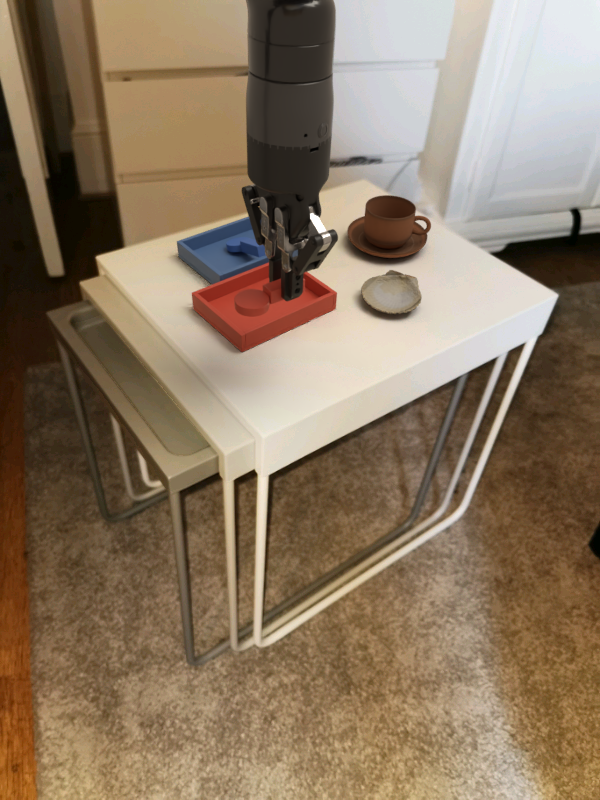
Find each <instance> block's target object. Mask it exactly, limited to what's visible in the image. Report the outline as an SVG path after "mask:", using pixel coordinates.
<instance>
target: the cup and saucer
mask: <svg viewBox="0 0 600 800" xmlns="http://www.w3.org/2000/svg"><path fill="white" fill-rule="evenodd" d="M416 213H417V207H416V205H415V204H414V203H413V202H412V201H411V200H409V199H407V198H405V197H402V196H399V195H391V194H388V195H387V194H383V195H377V196H374V197H371V198H369V199H368V200H367V201H366V203H365V209H364V215H363V216H360V217H358V218H355V219H354V220H352V221H351V222H350V224H349V225H348V227H347V230H346V231H347V237H348V239H349V242H351V244H353V245H354V247H355V248H357V249H358V250H360V251H361V252H363V253H365V254H368V255H369V256H374V257H380V258H385V259H386V258H388V259H392V258H393V259H396V258H397V259H399V258H404V257H408V256H411V255H414V254H415V253H417V252H419V251H420V250H422V249H423V248H424V247H425V245H426V244H427V241H428V233H429V232H430V231H431V228H432V222H431V220H430V219H429V218H428V217H426V216H424V215H416ZM418 221H421V222H424V223H425V224H426V227H425V228H424V227H423V226H422V225H421V224H420V223H418Z"/></svg>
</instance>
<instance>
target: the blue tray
mask: <svg viewBox="0 0 600 800" xmlns="http://www.w3.org/2000/svg"><path fill="white" fill-rule="evenodd" d="M260 223H261V220H260ZM239 237H248V238H251V239H254V240H255V236H254V233H253V229H252V226H251V223H250V219H249V216H248V215H247V216H245V217H243V218H240V219H236V220H234V221H231V222H228V223H225V224H222V225H220V226H216V227H214V228H211V229H208V230H205V231H203V232H199V233H196V234H194V235H190V236H187V237H185V238H182V239H179V240H176V248H177V257H178V258H179V259H180V260H182V261H183V262H184V263H185V264H186V265H188V266H189V267H190V268H191V269H192V270H194V271H195V272H196V273H197V274H199V276H201V277H202V278H203V279H204V280H205V281H207V282H208V283H210V285H212V284H215V283H218V282H220V281H223V280H225V279H228V278H230V277H233V276H235V275H238V274H240V273H243V272H246V271H248V270H251V269H253V268H256V267H258V266H261V265H263V264H266V263H268V262H269V259H268V258H267V256H266V255H264V256H262V257H256V256H253V255H250V254H247V253H244V252H242V251H241V252H229V251H228V250H227V245H226V242H227V241H229V240H231V239H234V238H239ZM295 256H298V250H296V251H294V252H293V257H295Z"/></svg>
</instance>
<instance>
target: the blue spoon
mask: <svg viewBox="0 0 600 800" xmlns="http://www.w3.org/2000/svg"><path fill="white" fill-rule="evenodd" d="M226 245H227V250H228V251H229V252H241V251H242V252H244V253H247V254H250V255H253V256H256V257H262V256H264V255H266V254H265V247H264V245H260V246H259V245H258V244H257V242H256V240H254V239H251V238H248V237H239V238H234V239H231V240H229V241H227V242H226Z"/></svg>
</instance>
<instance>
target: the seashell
mask: <svg viewBox="0 0 600 800" xmlns="http://www.w3.org/2000/svg"><path fill="white" fill-rule="evenodd" d="M360 292H361V297H362V300H364V302H365V303H367V305H368V306H369V307H371V308H372V309H375V310H376V311H377V312H381V313H386V314H387V315H391V314H392V315H397V314H398V315H402V314H407V313H411V312H412V311H413V310H416V309H417V307H419V306H420V304H421V303H422V297H423V296H422V293H421V291H420V287H419V279H418V278H417V277H416V276H413V275H410V274H406V273H405V274H404V273H402V272H399V271H397V270H394V269H389V270H388V271H387V272H386V273H385V274H381V275H377V276H372V277H370V278H368V279H366V280H365V281H364V282H363V284H362V286H361V288H360Z"/></svg>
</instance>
